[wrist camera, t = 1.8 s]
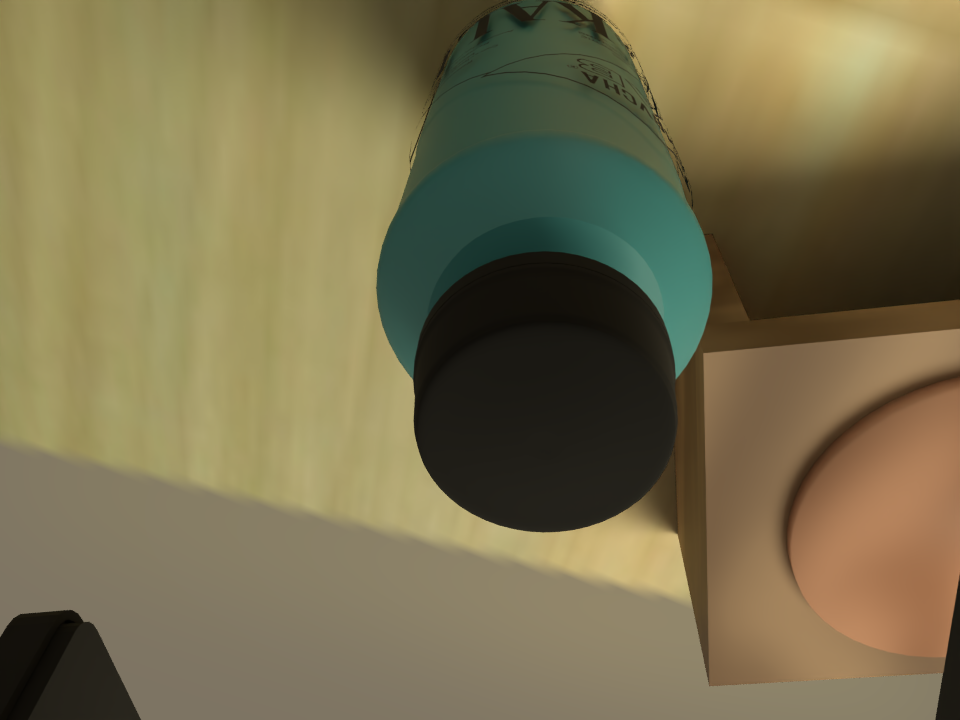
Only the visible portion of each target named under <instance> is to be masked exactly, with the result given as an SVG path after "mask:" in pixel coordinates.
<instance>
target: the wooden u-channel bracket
mask: <svg viewBox="0 0 960 720" xmlns="http://www.w3.org/2000/svg"><path fill="white" fill-rule="evenodd" d="M704 237H705V240H706V244H707V247H708V251H709V254H710V260H711V268H712V298H711V305H710V311H709V316H708V319H707V322H706V326H705V329H704V332H703V335H702V337H701V340H700V342H699V344H698V346H697V349H696V351H695V352H694V354H693V356H692V357H691V359H690V361H689V362H688V364H687V366H686V367H685V368H684V370H683V371H682V372H681V374H680V375H679V376H678V377H677V379H676V381H675V394H676V402H677V414H678V425H677V434H676V439H675V443H674V445H675V471H676V497H677V522H678V538H679V542H680V547H681V552H682V557H683V562H684V567H685V571H686V576H687V581H688V586H689V591H690V595H691V600H692V605H693V610H694V614H695V619H696V624H697V629H698V634H699V638H700V644H701V648H702V653H703V657H704V663H705V668H706V672H707V677H708V682H709V686H720V685H737V684H756V683H774V682H791V681H808V680H826V679H843V678H861V677H878V676H895V675H913V674H930V673H943V671H944V665H945V659H946V653H947V647H948V641H949V635H950V629H951V623H952V617H953V611H954V605H955V599H956V593H957V587H958V581H959V575H960V300H951V301H941V302H931V303H921V304H911V305H901V306H891V307H881V308H870V309H860V310H850V311H840V312H830V313H820V314H810V315H800V316H789V317H779V318H769V319H759V320H749V318H748V316H747V313H746V311H745V309H744V306H743V304H742V302H741V300H740V297H739V295H738V293H737V290H736V288H735V286H734V283H733V281H732V279H731V276H730V274H729V272H728V270H727V267H726V265H725V263H724V260H723V258H722V256H721V253H720V251H719V249H718V246H717V244H716V242H715V240H714V237H713V235H712V234H708V235H704Z"/></svg>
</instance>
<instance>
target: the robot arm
mask: <svg viewBox="0 0 960 720" xmlns="http://www.w3.org/2000/svg"><path fill="white" fill-rule="evenodd" d="M0 720H141V719H140V717H139V715H138V713H137V711H136V709H135V707H134V705H133V703H132V701H131V699H130V697H129V695H128V692H127V690H126V688H125V686H124V684H123V682H122V680H121V678H120V676H119V674H118V672H117V670H116V668H115V666H114V664H113V662H112V660H111V658H110V656H109V653H108V651H107V649H106V647H105V645H104V643H103V641H102V639H101V637H100V635H99V633H98V631H97V629H96V628H95V626H94V625H93V624H92V623H90V622H83V620H82V619H81V617H80V616H79V614H78V613H76V612H74V611H73V610H66V611H65V610H64V611H53V612H41V613H29V614H20V615H18V616H17V617H15V618H13V620H12V621H11V622H10V623H9V625H8V626H7V628H6V629H5V630H4V632H3V634H2V635H1V637H0ZM936 720H960V575H959V581H958V587H957V593H956V599H955V605H954V611H953V617H952V623H951V629H950V635H949V641H948V647H947V653H946V659H945V665H944V671H943V678H942V683H941V689H940V695H939V701H938V708H937V714H936Z"/></svg>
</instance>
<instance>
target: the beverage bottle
mask: <svg viewBox="0 0 960 720" xmlns="http://www.w3.org/2000/svg"><path fill="white" fill-rule="evenodd" d="M507 1H508V0H507ZM517 1H518V0H517ZM564 1H566V0H564ZM564 1H559V0H524V1H520V0H519V2H516V0H515V2H514V1H513V2H514V3H511V4H508V3H507V4H508V5H506V6H503V7H500V8H499V9H497V10H495V11H493V12H491V13H489V14H488V15H486V16H484V17H483V18H481V19H480V20H479V21H477V23H476V24H475V23H474V24H475V25H474V24H473V26H472V27H471V28H470V27H469V26H467V27H469V28H470V29H469V28H468V29H469V30H468V29H467V30H468V31H467V30H466V31H467V32H466V31H465V32H466V34H465V35H464V36H463V37H462V35H463V34H464V33H465V32H464V33H463V34H462V35H461V36H460V37H459V36H458V37H459V40H460V41H459V40H458V41H459V42H458V44H457V45H456V47H455V48H454V50H453V52H452V54H451V56H450V58H449V60H448V62H447V65H446V66H445V67H444V65H445V63H446V60H447V57H448V54H449V52H450V50H449V51H447V52H448V53H447V54H446V56H445V58H444V60H443V63H442V65H441V68H440V71H439V70H438V71H439V73H437V75H438V76H437V78H438V77H439V75H440V74H441V72H442V71H443V68H445V70H444V73H443V76H442V78H441V77H440V78H441V79H440V80H441V81H440V84H438V85H439V86H438V85H437V86H438V87H437V88H438V89H437V88H436V89H437V92H436V95H435V97H434V96H433V98H434V100H433V99H432V101H433V103H432V102H431V104H430V106H431V108H430V107H429V108H428V109H430V111H429V110H428V112H429V113H427V115H428V116H427V115H426V117H427V119H426V118H425V120H426V122H425V121H424V123H425V124H423V126H424V127H423V126H422V129H423V130H422V129H421V131H422V133H421V132H420V134H421V136H420V134H419V137H420V139H419V137H418V140H419V142H418V140H417V142H418V146H417V151H416V157H415V160H414V163H413V166H412V169H411V168H410V170H411V172H410V175H409V178H408V181H407V184H406V187H405V190H404V193H403V196H402V199H401V202H400V205H399V208H398V210H397V212H396V214H395V216H394V218H393V220H392V222H391V224H390V226H389V228H388V231H387V234H386V236H385V239H384V242H383V245H382V249H381V254H380V259H379V264H378V269H377V287H376V289H377V300H378V308H379V313H380V317H381V321H382V325H383V328H384V331H385V333H386V336H387V338H388V341H389V343H390V345H391V347H392V349H393V351H394V352H395V354H396V356H397V358H398V360H399V361H400V363H401V364H402V366H403V367H404V368H405V370H406V371H407V373H408V374H409V375H410V377H411V378H412V379H413V382H414V393H415V407H414V431H415V437H416V442H417V446H418V449H419V453H420V455H421V458H422V461H423V463H424V466H425V467H426V469H427V471H428V472H429V474H430V476H431V477H432V479H433V480H434V481H435V483H436V484H437V485H438V487H439V488H440V489H441V490H442V491H443V492H444V493H445V494H446V495H447V496H448V497H449V498H450V499H452V500H453V501H454V502H455V503H457V504H458V505H459V506H461V507H462V508H464V509H465V510H467V511H468V512H470V513H472V514H474V515H476V516H478V517H480V518H482V519H484V520H486V521H489V522H492V523H494V524H497V525H500V526H504V527H508V528H512V529H517V530H523V531H530V532H560V531H569V530H575V529H580V528H584V527H588V526H591V525H594V524H597V523H600V522H603V521H605V520H607V519H609V518H612V517H614V516H616V515H618V514H619V513H621V512H623V511H624V510H626V509H628V508H629V507H630V506H632V505H633V504H635V503H636V502H637V501H639V500H640V499H641V498H642V497H643V496H644V495H645V494H646V493H647V492H648V491H649V490H650V489H651V488H652V487H653V485H654V484H655V483H656V482H657V480H658V479H659V478H660V476H661V474H662V473H663V471H664V469H665V468H666V466H667V463H668V461H669V459H670V456H671V454H672V450H673V447H674V443H675V439H676V434H677V425H678V414H677V402H676V394H675V381H676V379H677V377H678V376H679V375H680V374H681V372H682V371H683V370H684V368H685V367H686V366H687V364H688V362H689V361H690V359H691V357H692V356H693V354H694V352H695V351H696V349H697V346H698V344H699V342H700V340H701V337H702V335H703V332H704V329H705V326H706V322H707V319H708V316H709V311H710V305H711V298H712V268H711V260H710V254H709V251H708V247H707V244H706V240H705V237H704V234H703V231H702V229H701V227H700V225H699V223H698V220H697V218H696V216H695V214H694V212H693V211H692V209H691V207H690V206H689V204H688V203H687V201H686V198H685V195H684V191H683V188H682V184H681V181H680V178H679V174H677V171H676V169H675V166H674V164H673V161H672V159H671V156H670V154H669V151H668V149H669V148H668V147H667V146H666V144H665V141H664V139H663V136H662V134H661V131H660V126H661V128H662V129H661V130H662V131H663V132H664V130H665V129H664V130H663V127H662V125H661V123H660V122H659V123H660V124H659V123H658V122H657V121H656V119H657V118H656V117H658V119H657V120H658V121H659V118H660V117H661V116H660V115H659V116H660V117H659V116H658V112H657V109H658V108H657V107H656V104H657V103H656V104H655V102H654V99H653V96H652V98H651V99H653V102H654V106H655V108H654V107H653V106H652V105H650V104H649V100H648V99H647V96H646V94H645V91H644V89H643V85H642V84H641V81H640V79H641V78H640V77H642V76H640V75H641V74H640V75H639V76H640V77H639V76H638V73H637V72H638V71H636V70H637V69H636V68H635V66H634V63H633V61H632V59H631V57H630V55H631V56H632V57H633V56H634V55H633V53H634V52H633V53H632V52H631V53H629V52H628V51H629V50H628V51H627V49H626V47H627V46H626V45H624V44H623V43H624V42H622V41H621V39H620V38H619V36H618V35H617V34H616V33H615V32H614V31H613V29H612V28H611V27H610V26H609V25H608V24H606V23H605V22H604V21H605V20H604V19H602V18H601V17H599V16H598V15H596V14H594V13H592V12H590V11H588V10H586V9H584V8H582V7H580V6H578V5H574V4H571V3H568V2H564ZM568 1H569V0H568ZM575 1H577V0H575ZM504 2H506V1H504ZM511 2H512V1H511ZM578 2H580V1H578ZM502 3H503V2H502ZM509 3H510V2H509ZM572 3H575V2H572ZM581 3H582V2H581ZM499 4H500V3H499ZM583 4H584V3H583ZM497 5H498V4H497ZM502 5H504V4H502ZM579 5H582V4H579ZM495 6H496V5H495ZM500 6H501V5H500ZM582 6H583V5H582ZM493 7H494V6H493ZM498 7H499V6H498ZM585 7H586V6H585ZM590 7H591V6H590ZM491 8H492V7H491ZM496 8H497V7H496ZM586 8H587V7H586ZM592 8H593V7H592ZM489 9H490V8H489ZM493 9H495V8H493ZM589 9H590V8H589ZM487 10H488V9H487ZM491 10H492V9H491ZM590 10H591V9H590ZM595 10H596V9H595ZM592 11H594V10H592ZM484 12H485V11H484ZM489 12H490V11H489ZM594 12H595V11H594ZM598 12H599V11H598ZM486 13H488V12H486ZM481 14H482V13H481ZM481 14H480V15H481ZM484 14H485V13H484ZM598 14H599V13H598ZM601 14H602V13H601ZM481 16H483V15H481ZM600 16H601V15H600ZM604 16H605V15H604ZM477 17H478V16H477ZM479 18H480V17H479ZM604 18H605V17H604ZM474 19H475V18H474ZM474 19H473V20H474ZM477 19H478V18H477ZM477 19H476V20H477ZM605 19H606V18H605ZM473 20H472V21H473ZM603 20H604V21H603ZM474 21H475V20H474ZM609 22H610V21H609ZM611 22H612V21H611ZM611 22H610V23H611ZM612 23H613V22H612ZM612 23H611V24H612ZM471 24H472V23H471ZM613 24H614V23H613ZM613 26H614V25H613ZM465 27H466V26H465ZM465 27H464V28H465ZM617 28H618V27H617ZM465 29H466V28H465ZM619 32H620V31H619ZM461 33H462V32H461ZM620 33H621V32H620ZM458 35H459V34H458ZM623 35H624V34H623ZM458 37H457V38H458ZM461 37H462V38H461ZM457 38H456V39H457ZM460 38H461V39H460ZM456 39H454V40H456ZM452 43H453V42H452ZM625 44H626V43H625ZM628 45H630V44H628ZM450 46H453V45H450ZM625 46H626V47H625ZM627 48H628V47H627ZM630 48H632V47H630ZM630 48H628V49H630ZM448 49H451V48H448ZM632 51H633V50H632ZM629 54H630V55H629ZM634 54H635V53H634ZM635 56H636V55H635ZM633 58H634V57H633ZM636 58H637V56H636ZM639 65H640V63H639ZM640 67H641V66H640ZM641 69H642V68H641ZM642 71H643V70H642ZM642 73H643V72H642ZM642 75H643V74H642ZM643 76H645V75H643ZM437 78H435V79H436V80H437ZM642 78H643V77H642ZM644 78H645V79H646V77H644ZM645 79H642V81H644V80H645ZM646 81H647V80H646ZM436 84H437V83H436ZM436 84H435V85H436ZM645 84H646V82H645V83H644V85H645ZM647 84H648V82H647ZM433 85H434V83H433ZM645 86H647V90H646V89H645V90H646V93H647V91H648V90H650V88H649V84H648V85H645ZM432 88H433V87H432ZM433 90H434V89H433ZM431 93H432V92H431ZM650 93H651V91H650ZM434 94H435V92H434ZM648 94H649V93H648ZM432 95H433V94H432ZM651 95H652V93H651ZM430 98H431V97H430ZM427 100H428V99H427ZM428 101H429V100H428ZM426 103H427V101H426ZM426 103H425V104H426ZM424 107H425V106H424ZM652 107H653V108H654V109H655V110H656V113H657V115H655V116H656V117H655V116H654V114H653V111H652V109H653V108H652ZM658 111H659V110H658ZM422 113H423V112H422ZM425 113H426V112H425ZM422 117H423V116H422ZM655 118H656V119H655ZM660 119H661V118H660ZM661 120H662V119H661ZM657 123H658V124H659V125H660V126H659V125H658V124H657ZM667 131H668V130H667ZM665 132H666V131H665ZM665 132H664V133H665ZM666 134H667V132H666ZM666 134H665V135H666ZM667 137H668V135H667ZM668 139H669V137H668ZM671 140H672V139H671ZM671 140H670V139H669V141H670V142H671V143H672V144H673V141H671ZM411 143H412V142H411ZM416 145H417V143H416ZM416 145H415V148H416ZM673 146H674V145H673ZM415 148H414V151H415ZM667 148H668V149H667ZM674 148H675V147H674ZM669 150H670V151H672V150H671V149H669ZM675 150H676V149H675ZM410 151H411V149H410ZM414 151H413V153H414ZM672 152H673V151H672ZM674 153H675V152H674ZM677 154H678V153H677ZM677 154H676V155H677ZM674 155H675V154H674ZM412 156H413V154H412ZM412 156H411V159H412ZM678 156H679V155H678ZM678 156H677V157H678ZM677 157H675V158H677ZM411 159H410V162H411ZM677 159H678V158H677ZM679 159H680V158H679ZM679 162H681V160H680V161H679ZM676 163H678V162H676ZM678 166H679V164H678ZM678 166H677V168H678ZM681 166H682V163H681ZM682 167H683V166H682ZM679 168H680V167H679ZM682 169H684V167H683V168H682ZM680 171H681V169H680ZM682 172H685V171H682ZM682 172H681V173H682ZM685 173H686V172H685ZM686 175H687V174H686ZM682 176H683V174H682ZM683 178H684V179H685V178H687V177H686V176H685V177H683ZM688 180H689V179H688ZM685 182H686V184H687V183H688V181H687V179H685ZM689 184H690V183H689ZM687 187H688V184H687ZM690 188H691V187H690ZM688 189H689V187H688ZM689 192H690V190H689ZM691 194H692V191H691ZM692 208H693V201H692Z"/></svg>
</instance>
